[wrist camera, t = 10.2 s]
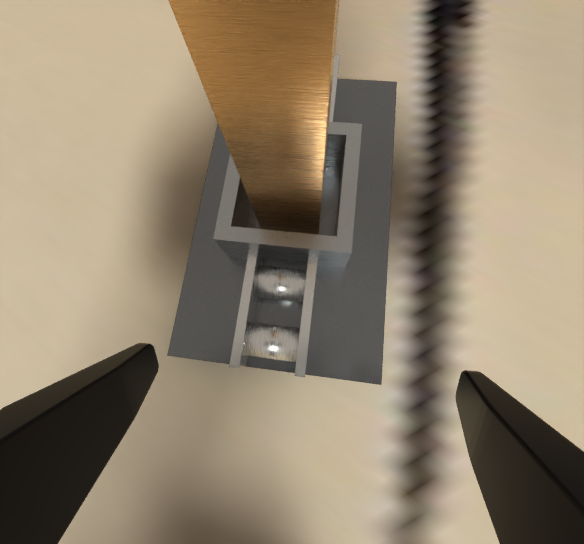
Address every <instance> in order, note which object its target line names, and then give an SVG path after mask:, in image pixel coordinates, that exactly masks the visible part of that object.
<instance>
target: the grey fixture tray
mask: <svg viewBox="0 0 584 544" xmlns="http://www.w3.org/2000/svg"><path fill="white" fill-rule="evenodd" d="M339 59H340V55H335V56H334V68H333V80H332V92H331V104H330V116H329V128H328V140H327V152H326V164H325V176H324V187H323V196H322V206H321V216H320V226H319V235H317V234H306V233H296V232H285V231H275V230H265V229H261V228H260V225H259V223H258V220H257V218H256V215H255V213H254V210H253V208H252V205H251V203H250V201H249V198H248V196H247V193H246V191H245V188H244V186H243V183H242V181H241V178H240V176H239V173H238V171H237V168H236V166H235V163H234V161H233V158H232V156H231V154H230V151H229V149H228V146H227V144H226V141H225V139H224V136H223V134H222V131H221V129H220V126H219V124H218V125H217V130H216V134H215V139H214V144H213V148H212V153H211V157H210V162H209V167H208V171H207V176H206V180H205V185H204V189H203V194H202V199H201V203H200V208H199V212H198V217H197V222H196V226H195V231H194V235H193V240H192V245H191V249H190V254H189V258H188V263H187V268H186V272H185V277H184V281H183V286H182V291H181V295H180V300H179V304H178V309H177V314H176V318H175V323H174V327H173V332H172V337H171V341H170V346H169V350H168V355H167V356H175V357H182V358H189V359H196V360H204V361H211V362H218V363H226V364H230V365H229V367H234V368H241V367H245V366H248V367H255V368H262V369H270V370H277V371H284V372H292V373H295V376H300V377H305V374H306V375H314V376H321V377H328V378H336V379H343V380H350V381H358V382H365V383H372V384H380V385H381V382H382V362H383V342H384V322H385V303H386V283H387V263H388V244H389V224H390V204H391V184H392V165H393V145H394V125H395V106H396V86H397V82H389V81H369V80H350V79H338V69H339Z"/></svg>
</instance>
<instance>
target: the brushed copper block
mask: <svg viewBox="0 0 584 544" xmlns="http://www.w3.org/2000/svg"><path fill="white" fill-rule="evenodd" d="M169 3H170V5H171V8H172V10H173V13H174V15H175V18H176V20H177V22H178V25H179V27H180V30H181V32H182V35H183V37H184V40H185V42H186V45H187V47H188V50H189V52H190V55H191V57H192V60H193V62H194V65H195V67H196V69H197V72H198V74H199V77H200V79H201V82H202V84H203V87H204V89H205V92H206V94H207V97H208V99H209V102H210V104H211V107H212V109H213V111H214V114H215V116H216V119H217V121H218V124H219V126H220V129H221V131H222V134H223V136H224V139H225V141H226V144H227V146H228V149H229V151H230V154H231V156H232V158H233V161H234V163H235V166H236V168H237V171H238V173H239V176H240V178H241V181H242V183H243V186H244V188H245V191H246V193H247V196H248V198H249V201H250V203H251V205H252V208H253V210H254V213H255V215H256V218H257V220H258V223H259V225H260V228H261V229H265V230H275V231H285V232H296V233H306V234H317V235H319V226H320V216H321V206H322V196H323V187H324V176H325V164H326V152H327V140H328V128H329V116H330V104H331V92H332V80H333V68H334V56H335V44H336V32H337V20H338V8H339V0H169Z"/></svg>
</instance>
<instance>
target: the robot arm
mask: <svg viewBox="0 0 584 544" xmlns="http://www.w3.org/2000/svg"><path fill="white" fill-rule="evenodd" d="M158 368H159V365H158V360H157V357H156V353H155V349H154V347H153V345H151V344H146V343H138V344H136V345H134V346H132V347H130V348H127V349H125V350H123V351H121V352H119V353H117V354H115V355H113V356H111V357H108V358H106V359H104V360H102V361H100V362H98V363H96V364H94V365H92V366H90V367H87V368H85V369H83V370H81V371H79V372H77V373H75V374H73V375H71V376H69V377H66V378H64V379H62V380H60V381H58V382H56V383H54V384H52V385H50V386H48V387H45V388H43V389H41V390H39V391H37V392H35V393H33V394H31V395H29V396H26V397H24V398H22V399H20V400H18V401H16V402H14V403H12V404H10V405H8V406H5V407H3V408H2V409H1V410H0V544H58V542H59V541H60V539H61V537H62V536H63V534H64V533H65V531H66V529H67V528H68V526H69V524H70V523H71V521H72V520H73V518H74V516H75V515H76V513H77V511H78V510H79V508H80V507H81V505H82V503H83V502H84V500H85V498H86V497H87V495H88V493H89V492H90V490H91V489H92V487H93V485H94V484H95V482H96V480H97V479H98V477H99V476H100V474H101V472H102V471H103V469H104V467H105V466H106V464H107V463H108V461H109V459H110V458H111V456H112V454H113V453H114V451H115V450H116V448H117V446H118V445H119V443H120V441H121V440H122V438H123V437H124V435H125V433H126V432H127V430H128V428H129V427H130V425H131V423H132V422H133V420H134V418H135V416H136V415H137V413H138V411H139V409H140V407H141V405H142V403H143V401H144V399H145V397H146V395H147V393H148V391H149V389H150V387H151V384H152V382H153V380H154V378H155V376H156V374H157V372H158ZM456 403H457V408H458V412H459V416H460V420H461V424H462V428H463V432H464V437H465V441H466V445H467V449H468V453H469V457H470V461H471V464H472V467H473V470H474V473H475V475H476V478H477V481H478V484H479V487H480V489H481V492H482V495H483V498H484V501H485V503H486V506H487V509H488V512H489V515H490V517H491V520H492V523H493V526H494V529H495V531H496V534H497V537H498V540H499V543H500V544H584V452H583V451H582V450H581V449H580V448H578V447H577V446H576V445H574V444H573V443H572V442H570V441H569V440H568V439H567V438H565V437H564V436H563V435H561V434H560V433H559V432H558V431H556V430H555V429H554V428H552V427H551V426H550V425H548V424H547V423H546V422H545V421H543V420H542V419H541V418H539V417H538V416H537V415H536V414H534V413H533V412H532V411H530V410H529V409H528V408H526V407H525V406H524V405H523V404H521V403H520V402H519V401H517V400H516V399H515V398H514V397H512V396H511V395H510V394H508V393H507V392H506V391H504V390H503V389H502V388H501V387H499V386H498V385H497V384H495V383H494V382H493V381H492V380H490V379H489V378H488V377H486V376H485V375H484V374H482V373H481V372H478V371H467V370H465V371H463V372H462V373H461V375H460V379H459V383H458V387H457V391H456Z"/></svg>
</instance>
